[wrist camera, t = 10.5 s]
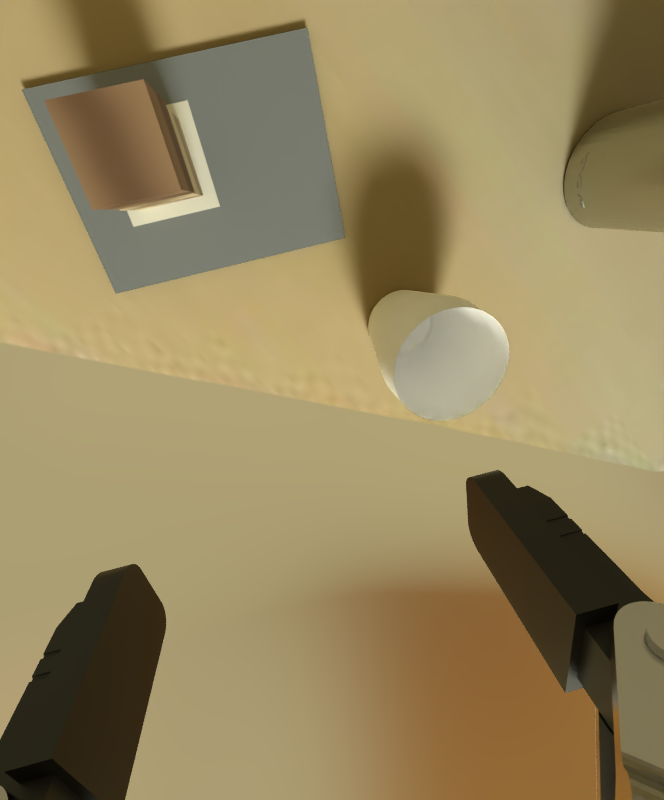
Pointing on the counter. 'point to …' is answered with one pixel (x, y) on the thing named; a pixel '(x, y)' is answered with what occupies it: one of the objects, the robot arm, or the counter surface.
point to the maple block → (189, 167)
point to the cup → (438, 352)
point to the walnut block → (121, 145)
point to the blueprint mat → (218, 162)
